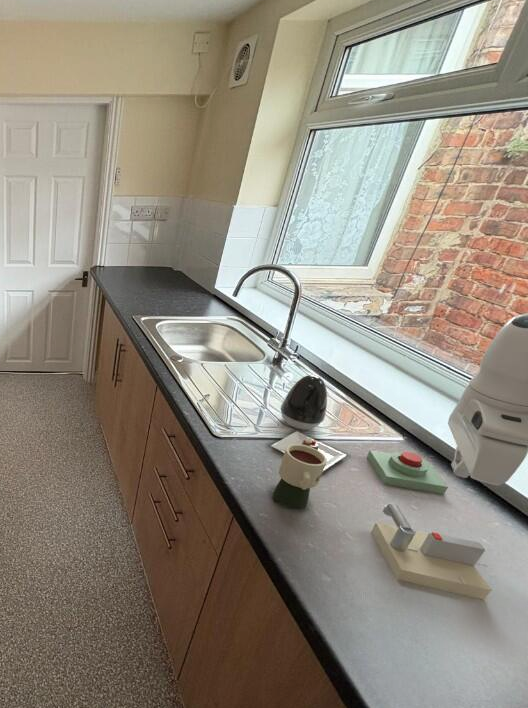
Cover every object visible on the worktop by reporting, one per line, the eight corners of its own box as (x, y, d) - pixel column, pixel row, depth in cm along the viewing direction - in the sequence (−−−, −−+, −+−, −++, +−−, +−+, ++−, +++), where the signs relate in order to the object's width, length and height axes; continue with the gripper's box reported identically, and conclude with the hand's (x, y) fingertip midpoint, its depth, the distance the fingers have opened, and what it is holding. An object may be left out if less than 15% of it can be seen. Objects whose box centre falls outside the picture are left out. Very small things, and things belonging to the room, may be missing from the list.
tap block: (459, 553, 78) (468, 539, 76) (498, 608, 68) (509, 594, 67) (369, 534, 82) (375, 521, 80) (393, 583, 73) (402, 569, 71)
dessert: (345, 458, 102) (352, 442, 100) (319, 476, 97) (326, 459, 95) (295, 434, 112) (300, 419, 110) (269, 449, 106) (274, 433, 104)
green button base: (421, 466, 99) (428, 452, 98) (443, 494, 91) (452, 480, 89) (366, 457, 103) (372, 444, 101) (383, 483, 94) (390, 470, 93)
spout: (389, 520, 81) (398, 502, 78) (408, 553, 74) (419, 533, 72) (375, 517, 81) (384, 499, 79) (393, 549, 75) (403, 530, 72)
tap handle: (469, 558, 73) (480, 541, 71) (474, 566, 71) (486, 548, 69) (419, 548, 75) (429, 531, 73) (424, 555, 73) (434, 538, 72)
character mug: (312, 525, 84) (333, 475, 78) (272, 515, 87) (290, 466, 81) (303, 489, 93) (321, 443, 87) (267, 481, 96) (282, 435, 90)
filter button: (414, 459, 96) (418, 453, 96) (422, 469, 93) (425, 463, 92) (396, 456, 97) (399, 450, 97) (403, 465, 94) (406, 459, 94)
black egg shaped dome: (272, 425, 116) (287, 377, 109) (282, 410, 122) (297, 364, 116) (315, 439, 109) (334, 390, 102) (323, 423, 116) (341, 375, 109)
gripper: (457, 378, 78) (426, 437, 85) (486, 431, 63) (445, 498, 70) (505, 387, 75) (468, 448, 81) (547, 445, 60) (498, 514, 66)
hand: (458, 472), depth 75 cm, fingers closed
